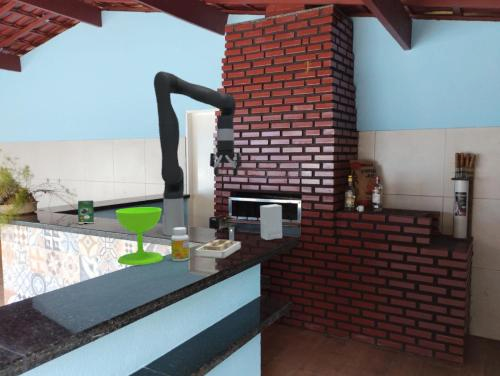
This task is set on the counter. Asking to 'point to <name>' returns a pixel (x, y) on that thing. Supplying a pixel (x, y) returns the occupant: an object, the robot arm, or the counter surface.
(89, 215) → the coffee box
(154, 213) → the wineglass
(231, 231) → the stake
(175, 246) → the supplement bottle
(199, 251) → the tray
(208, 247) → the tan irregular block
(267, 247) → the counter surface
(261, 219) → the skincare box
